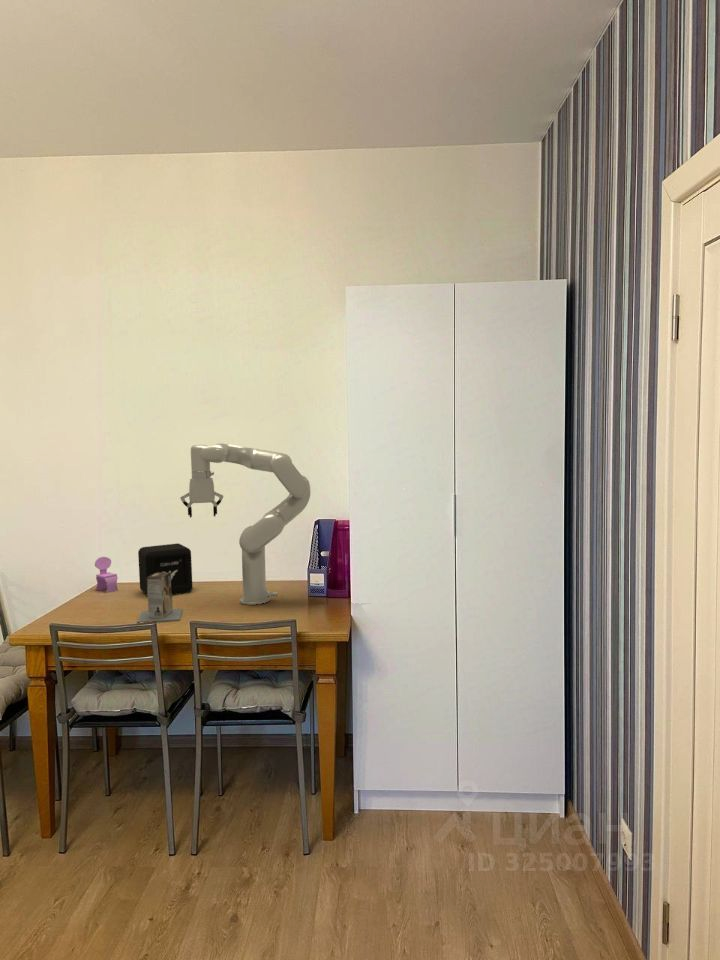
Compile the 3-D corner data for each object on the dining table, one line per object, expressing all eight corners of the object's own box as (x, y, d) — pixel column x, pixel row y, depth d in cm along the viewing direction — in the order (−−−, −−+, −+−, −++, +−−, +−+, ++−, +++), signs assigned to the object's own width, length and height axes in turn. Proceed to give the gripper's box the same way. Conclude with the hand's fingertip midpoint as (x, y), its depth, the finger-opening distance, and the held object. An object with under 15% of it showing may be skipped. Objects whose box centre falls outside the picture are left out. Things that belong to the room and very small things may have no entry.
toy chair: (104, 593, 349) (102, 560, 348) (93, 591, 355) (91, 558, 353) (120, 590, 356) (118, 557, 354) (109, 587, 361) (107, 555, 360)
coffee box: (157, 611, 315) (156, 571, 314) (173, 611, 314) (171, 572, 313) (148, 617, 306) (146, 577, 305) (163, 618, 305) (161, 577, 304)
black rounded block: (147, 599, 338) (145, 552, 336) (139, 592, 351) (137, 547, 349) (194, 592, 348) (192, 547, 346) (184, 586, 361) (182, 542, 358)
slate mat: (182, 609, 319) (182, 608, 319) (180, 620, 304) (180, 619, 303) (141, 612, 317) (141, 610, 317) (137, 623, 301) (137, 621, 301)
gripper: (222, 473, 329) (224, 514, 331) (180, 475, 326) (181, 516, 328) (222, 475, 322) (223, 517, 323) (178, 476, 319) (180, 518, 321)
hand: (202, 516), depth 326 cm, fingers open, 9 cm apart
